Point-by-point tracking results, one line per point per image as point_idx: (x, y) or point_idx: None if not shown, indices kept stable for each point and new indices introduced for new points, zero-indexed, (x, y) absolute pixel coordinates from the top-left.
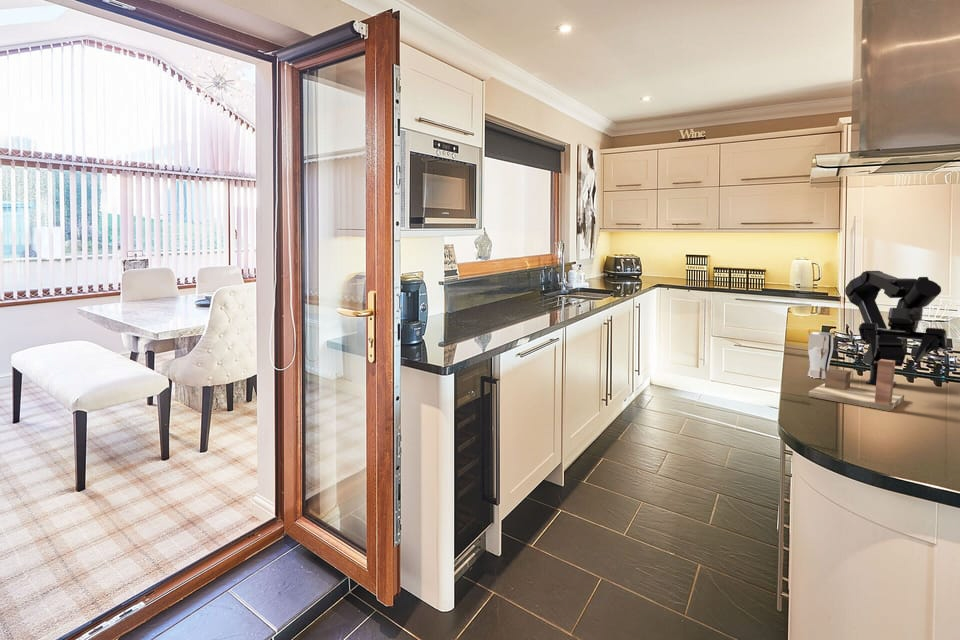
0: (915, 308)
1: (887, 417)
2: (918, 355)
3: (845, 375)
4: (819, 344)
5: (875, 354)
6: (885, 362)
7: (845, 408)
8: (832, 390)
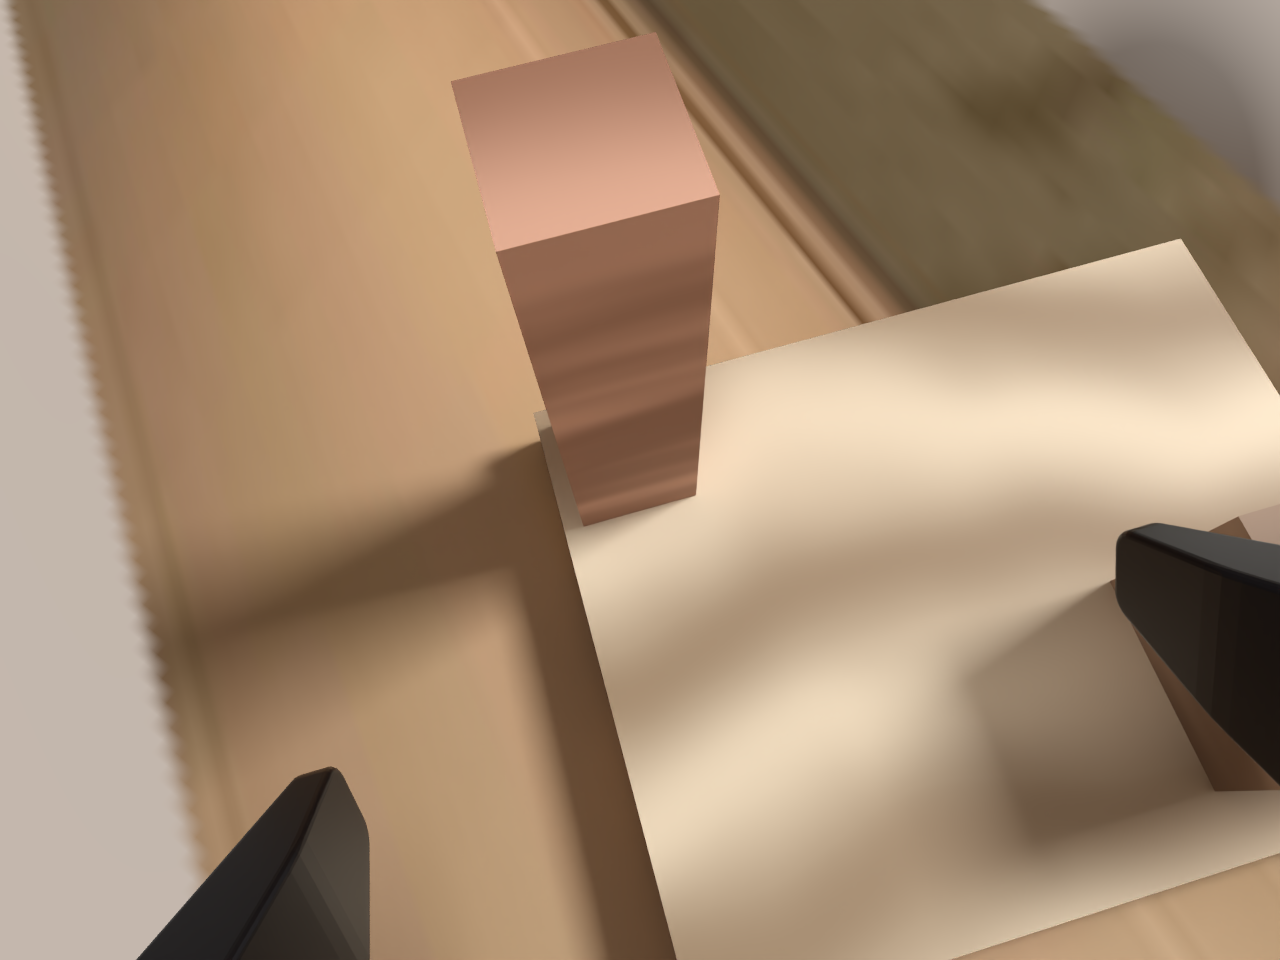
0: None
1: (479, 284)
2: (235, 868)
3: (1223, 526)
4: None
5: (1185, 661)
6: (551, 68)
7: (773, 237)
8: (1141, 459)
